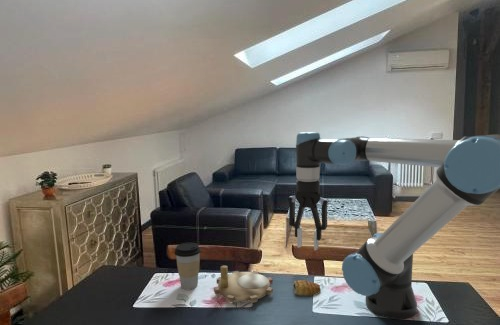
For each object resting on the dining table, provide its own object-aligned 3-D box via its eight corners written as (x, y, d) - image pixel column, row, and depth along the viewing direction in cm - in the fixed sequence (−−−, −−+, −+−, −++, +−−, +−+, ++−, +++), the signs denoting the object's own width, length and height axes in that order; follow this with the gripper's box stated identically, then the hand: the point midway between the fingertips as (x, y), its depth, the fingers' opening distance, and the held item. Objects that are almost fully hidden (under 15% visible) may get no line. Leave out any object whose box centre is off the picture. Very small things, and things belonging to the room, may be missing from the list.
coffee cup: (196, 293, 122) (195, 252, 120) (171, 291, 124) (169, 250, 122) (205, 280, 131) (204, 242, 129) (182, 279, 133) (180, 241, 131)
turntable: (260, 270, 136) (260, 249, 135) (283, 296, 116) (283, 271, 115) (208, 280, 129) (207, 257, 128) (222, 309, 109) (222, 282, 108)
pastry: (317, 286, 125) (317, 276, 125) (322, 296, 119) (322, 285, 118) (291, 287, 125) (291, 277, 124) (295, 297, 118) (295, 287, 118)
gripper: (338, 179, 114) (337, 247, 117) (286, 176, 122) (286, 240, 125) (332, 183, 107) (332, 255, 110) (278, 179, 115) (278, 247, 118)
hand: (307, 247), depth 117 cm, fingers open, 5 cm apart
